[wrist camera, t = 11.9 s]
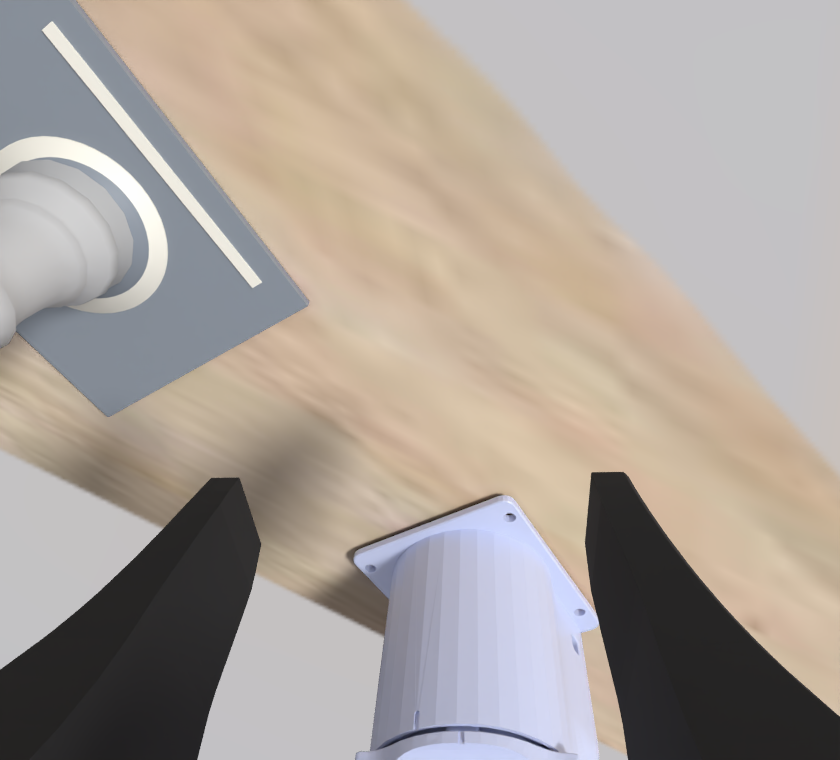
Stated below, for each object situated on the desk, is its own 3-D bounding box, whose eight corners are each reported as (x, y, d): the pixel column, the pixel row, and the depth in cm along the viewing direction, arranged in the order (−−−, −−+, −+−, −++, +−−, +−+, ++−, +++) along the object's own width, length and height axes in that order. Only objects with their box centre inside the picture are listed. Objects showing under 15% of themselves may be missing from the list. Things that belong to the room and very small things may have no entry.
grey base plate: (309, 301, 22) (306, 307, 22) (111, 412, 26) (106, 418, 26) (33, -54, 17) (25, -54, 17) (-171, 146, 20) (-181, 150, 20)
